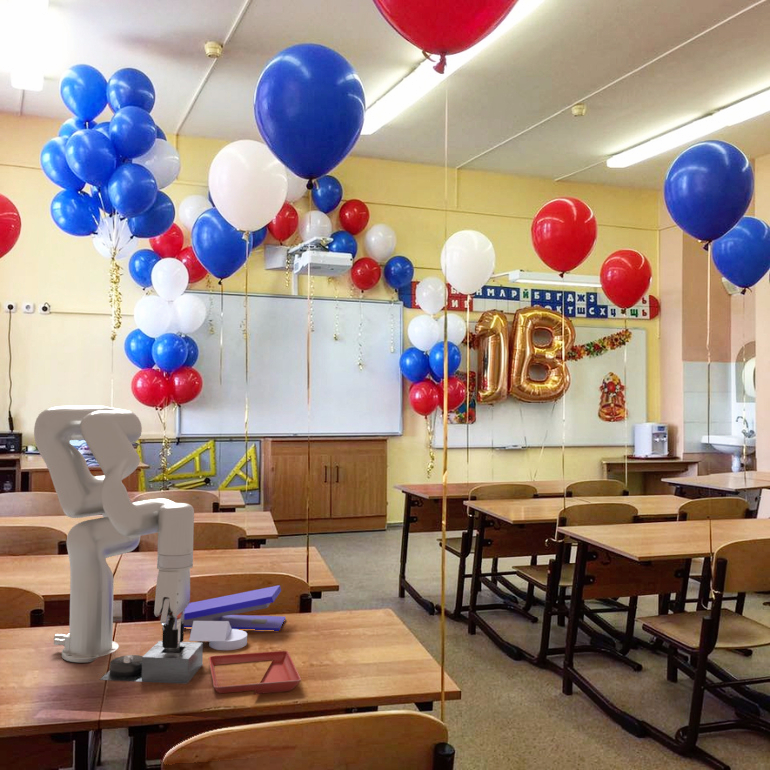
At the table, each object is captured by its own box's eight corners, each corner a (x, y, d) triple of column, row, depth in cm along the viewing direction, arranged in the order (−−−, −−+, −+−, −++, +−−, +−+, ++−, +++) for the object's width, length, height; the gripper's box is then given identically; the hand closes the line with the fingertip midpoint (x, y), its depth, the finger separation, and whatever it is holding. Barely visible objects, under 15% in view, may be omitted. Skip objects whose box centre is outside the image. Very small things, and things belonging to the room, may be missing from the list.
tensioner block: (99, 685, 156) (99, 655, 156) (120, 665, 167) (121, 638, 167) (187, 689, 155) (187, 659, 155) (202, 669, 166) (203, 641, 166)
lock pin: (162, 673, 160) (164, 612, 160) (167, 668, 163) (169, 608, 163) (176, 674, 159) (178, 613, 159) (181, 668, 163) (183, 608, 163)
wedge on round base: (188, 655, 175) (243, 655, 175) (189, 626, 175) (244, 627, 175) (197, 641, 184) (249, 642, 184) (197, 615, 184) (250, 615, 184)
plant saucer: (287, 663, 172) (287, 649, 172) (301, 694, 155) (302, 678, 155) (207, 670, 167) (208, 655, 167) (213, 703, 149) (213, 687, 149)
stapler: (278, 634, 192) (279, 596, 192) (172, 630, 193) (173, 593, 193) (286, 620, 204) (286, 584, 204) (185, 617, 204) (186, 581, 204)
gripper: (171, 551, 170) (169, 631, 169) (144, 569, 153) (141, 657, 153) (203, 552, 169) (201, 633, 169) (179, 570, 153) (177, 659, 153)
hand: (173, 643), depth 161 cm, fingers closed on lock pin, 3 cm apart
